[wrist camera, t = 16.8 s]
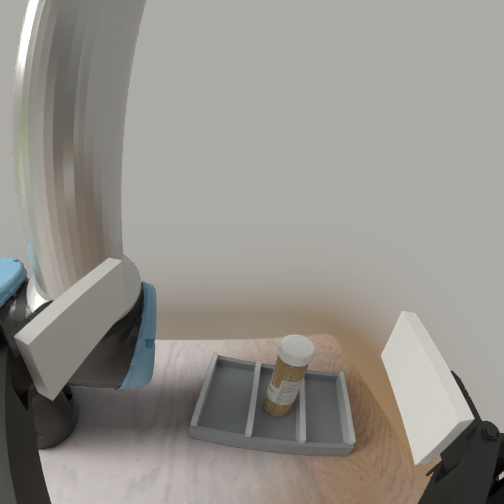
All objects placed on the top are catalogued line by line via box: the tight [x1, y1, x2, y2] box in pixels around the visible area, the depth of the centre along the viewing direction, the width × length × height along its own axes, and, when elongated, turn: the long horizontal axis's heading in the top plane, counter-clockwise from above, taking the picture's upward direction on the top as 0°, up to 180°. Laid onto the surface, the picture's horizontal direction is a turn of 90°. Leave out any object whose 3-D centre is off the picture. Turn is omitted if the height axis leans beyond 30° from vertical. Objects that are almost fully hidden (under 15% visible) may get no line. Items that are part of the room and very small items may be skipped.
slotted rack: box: [189, 352, 356, 456], centre depth 39 cm, size 23×16×4 cm
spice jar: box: [263, 335, 315, 417], centre depth 37 cm, size 5×5×13 cm
